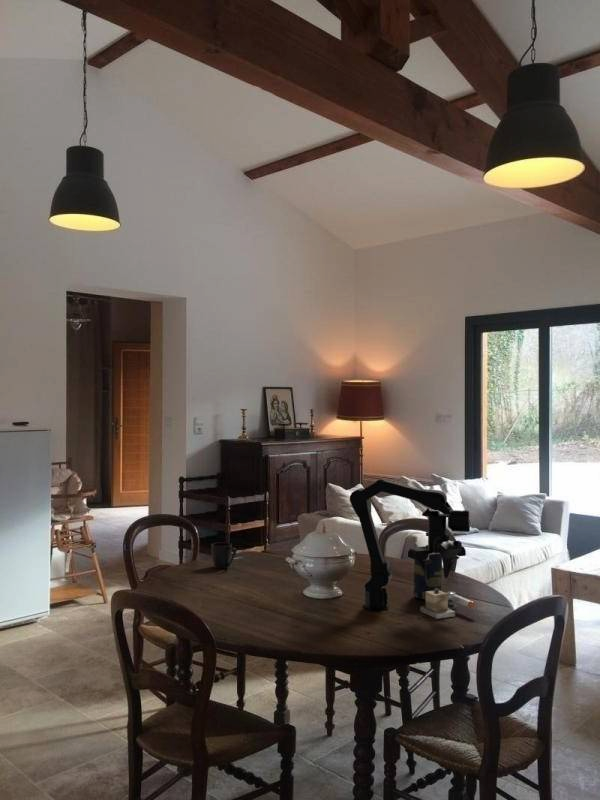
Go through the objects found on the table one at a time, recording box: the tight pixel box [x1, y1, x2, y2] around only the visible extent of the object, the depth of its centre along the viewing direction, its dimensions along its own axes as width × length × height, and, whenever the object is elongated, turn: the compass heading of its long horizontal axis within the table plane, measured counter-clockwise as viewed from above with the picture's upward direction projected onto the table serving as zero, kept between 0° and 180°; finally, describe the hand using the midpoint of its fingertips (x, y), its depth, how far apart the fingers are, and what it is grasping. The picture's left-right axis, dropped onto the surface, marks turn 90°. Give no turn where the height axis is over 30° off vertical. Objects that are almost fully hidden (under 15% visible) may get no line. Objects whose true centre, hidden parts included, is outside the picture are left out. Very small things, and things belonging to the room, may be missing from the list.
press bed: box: [420, 605, 456, 620], centre depth 224 cm, size 7×9×2 cm
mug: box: [210, 541, 237, 569], centre depth 285 cm, size 8×12×10 cm
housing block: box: [425, 588, 448, 611], centre depth 225 cm, size 5×5×6 cm
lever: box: [445, 591, 477, 610], centre depth 226 cm, size 3×14×2 cm, turn 24°
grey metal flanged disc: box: [448, 600, 458, 610], centre depth 231 cm, size 4×4×2 cm
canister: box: [412, 545, 443, 601], centre depth 242 cm, size 10×10×18 cm
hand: (436, 579), depth 225 cm, fingers open, 7 cm apart
